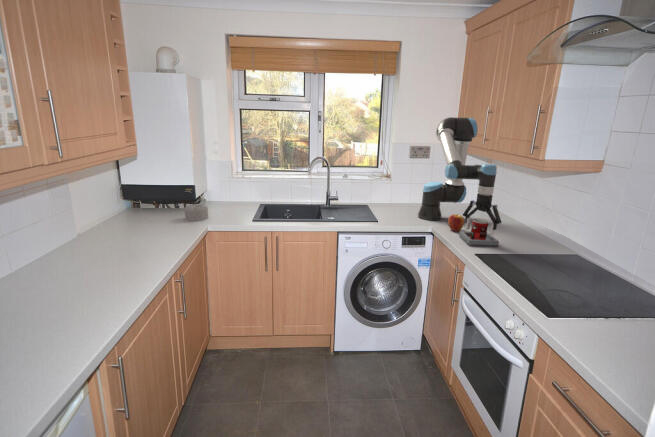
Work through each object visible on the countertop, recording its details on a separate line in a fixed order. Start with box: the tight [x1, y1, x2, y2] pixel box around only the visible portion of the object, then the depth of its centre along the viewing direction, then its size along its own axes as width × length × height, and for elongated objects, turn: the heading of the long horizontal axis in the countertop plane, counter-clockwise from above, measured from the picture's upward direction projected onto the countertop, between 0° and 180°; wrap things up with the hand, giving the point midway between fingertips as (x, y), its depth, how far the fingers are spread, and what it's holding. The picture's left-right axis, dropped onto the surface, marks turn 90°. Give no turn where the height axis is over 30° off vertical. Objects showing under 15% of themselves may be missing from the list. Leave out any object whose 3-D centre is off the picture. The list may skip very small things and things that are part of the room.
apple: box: [447, 213, 465, 232], centre depth 221 cm, size 9×9×10 cm
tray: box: [459, 230, 500, 248], centre depth 204 cm, size 16×16×3 cm
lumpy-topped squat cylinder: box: [184, 203, 209, 223], centre depth 229 cm, size 10×13×9 cm
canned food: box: [470, 218, 489, 240], centre depth 203 cm, size 8×8×11 cm
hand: (479, 232), depth 203 cm, fingers open, 13 cm apart
